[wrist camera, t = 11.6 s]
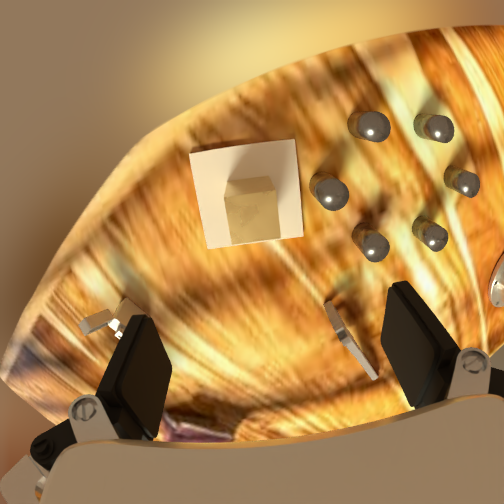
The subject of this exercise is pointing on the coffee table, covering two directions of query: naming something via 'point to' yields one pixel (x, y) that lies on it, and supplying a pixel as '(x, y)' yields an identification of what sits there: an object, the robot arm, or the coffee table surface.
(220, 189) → the coaster
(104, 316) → the lighter
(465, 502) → the robot arm
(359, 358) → the caliper
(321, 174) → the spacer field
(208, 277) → the coffee table surface
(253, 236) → the tan rectangular block
